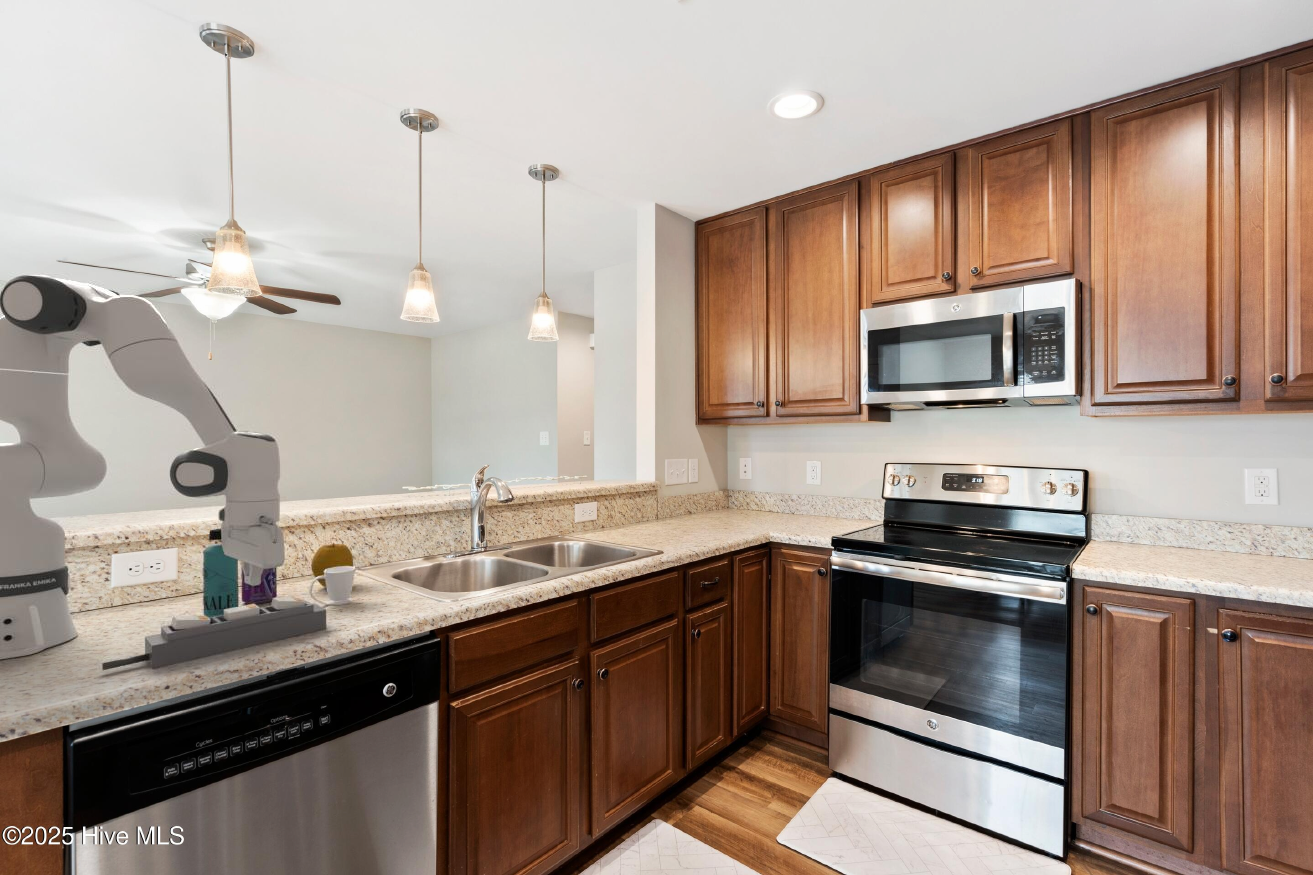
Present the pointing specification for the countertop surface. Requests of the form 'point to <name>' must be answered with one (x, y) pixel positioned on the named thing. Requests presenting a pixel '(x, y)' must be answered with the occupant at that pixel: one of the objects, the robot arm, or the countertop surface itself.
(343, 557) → the apple
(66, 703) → the countertop surface
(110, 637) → the countertop surface
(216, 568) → the beverage bottle
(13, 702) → the countertop surface
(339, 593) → the cup
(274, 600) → the rocker
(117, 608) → the countertop surface
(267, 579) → the beverage can
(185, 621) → the block
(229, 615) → the rocker
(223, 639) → the rocker switch panel
